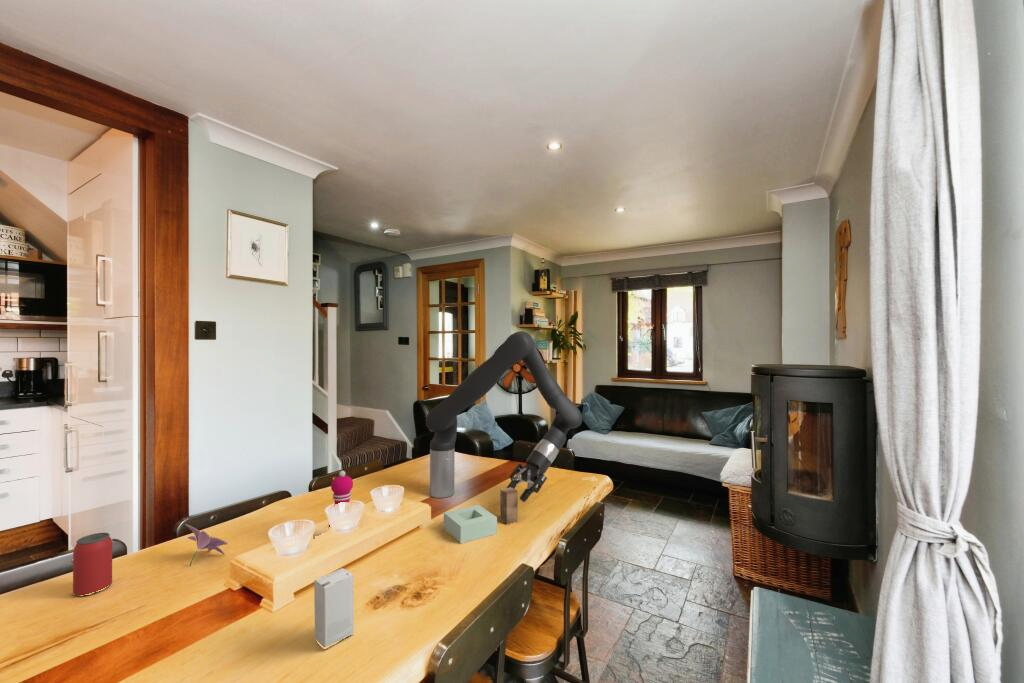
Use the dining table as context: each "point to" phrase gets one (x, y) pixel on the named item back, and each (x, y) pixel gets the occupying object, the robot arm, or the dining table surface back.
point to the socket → (470, 523)
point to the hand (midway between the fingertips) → (514, 496)
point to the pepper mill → (342, 488)
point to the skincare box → (334, 607)
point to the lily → (205, 541)
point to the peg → (508, 505)
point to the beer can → (92, 563)
